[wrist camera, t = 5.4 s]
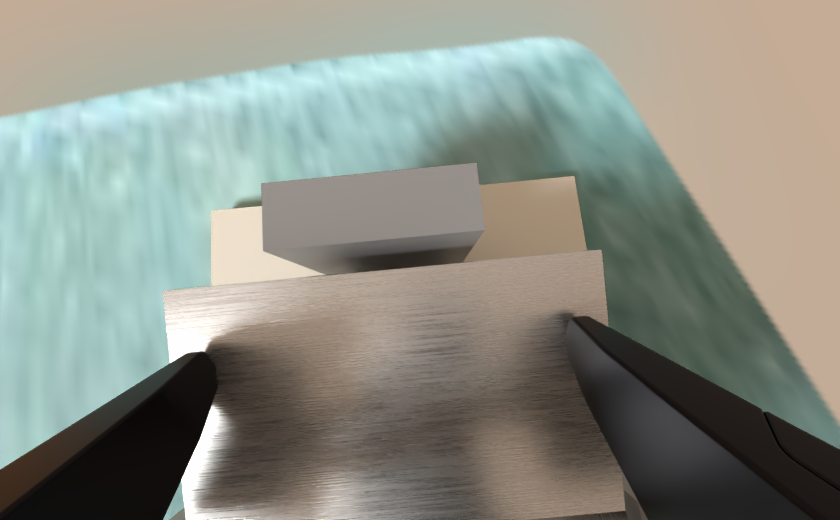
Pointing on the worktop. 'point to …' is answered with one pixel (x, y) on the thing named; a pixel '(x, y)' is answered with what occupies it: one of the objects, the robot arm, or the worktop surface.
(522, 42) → the worktop surface
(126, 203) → the worktop surface
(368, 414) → the brushed grey panel
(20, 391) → the worktop surface
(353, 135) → the worktop surface
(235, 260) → the board
